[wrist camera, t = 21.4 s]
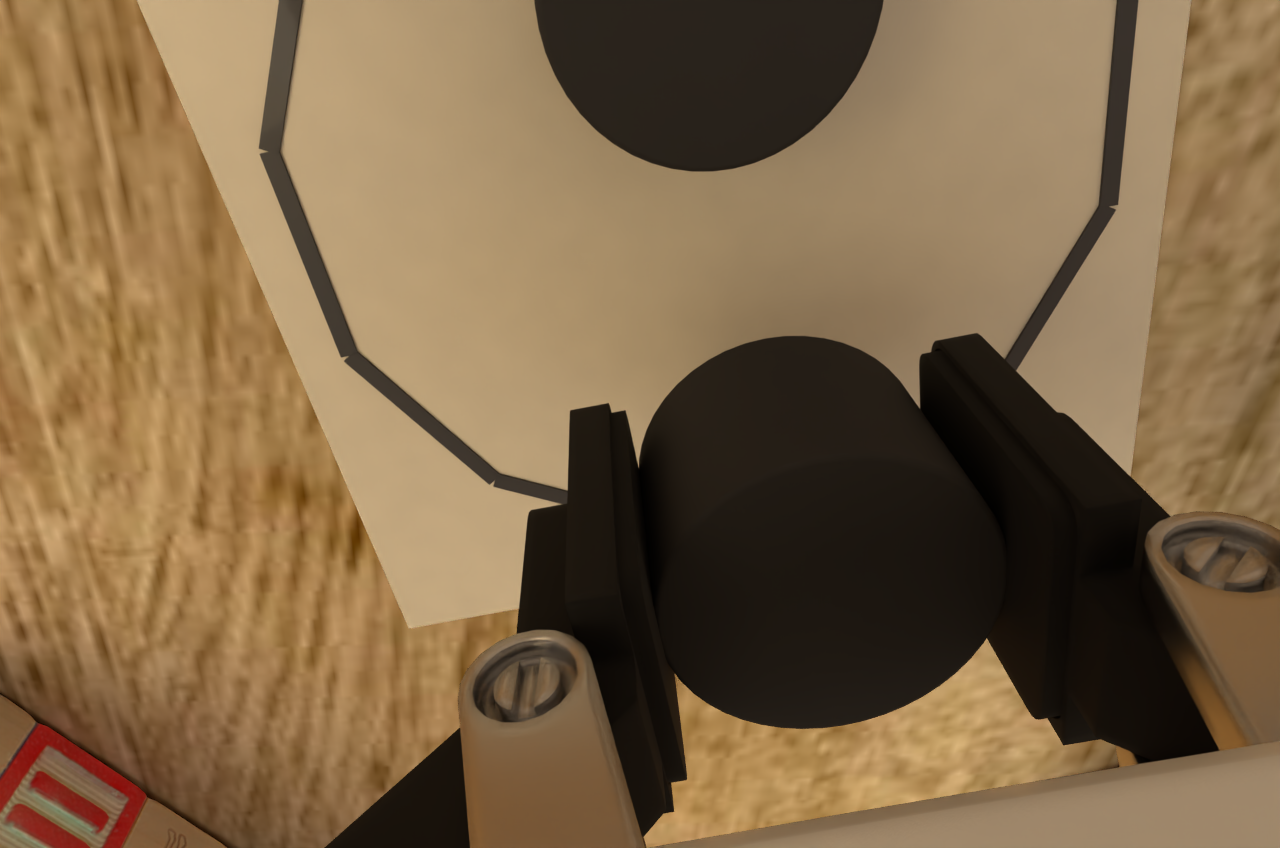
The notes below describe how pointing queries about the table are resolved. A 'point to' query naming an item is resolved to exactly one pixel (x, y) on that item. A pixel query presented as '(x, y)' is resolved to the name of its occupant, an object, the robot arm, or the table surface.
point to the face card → (660, 236)
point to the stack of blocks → (75, 796)
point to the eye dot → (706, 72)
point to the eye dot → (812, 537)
